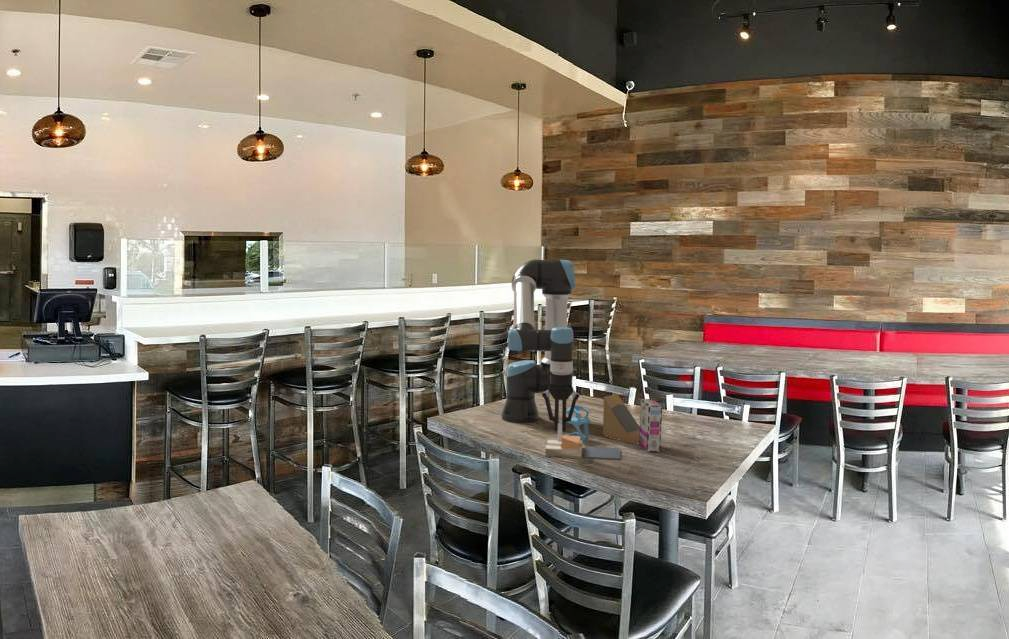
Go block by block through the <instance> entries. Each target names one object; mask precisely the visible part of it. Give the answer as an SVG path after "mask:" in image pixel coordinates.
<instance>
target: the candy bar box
mask: <svg viewBox="0 0 1009 639" xmlns="http://www.w3.org/2000/svg"><path fill="white" fill-rule="evenodd" d="M639 407H640V411H639V426H640V430H639V444H638V445H640V446H641V447H642V448H643V449H644V451H645V452H647V453H660V452H661V442H662V441H661V439H662V422H663V421H662V420H663V405H661V404H660V403H659V402H657V401H656V400H654V399H653V398H648V399H647V398H643V399H642V398H641V399H640V406H639Z"/></svg>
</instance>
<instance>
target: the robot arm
mask: <svg viewBox="0 0 1009 639" xmlns="http://www.w3.org/2000/svg"><path fill="white" fill-rule="evenodd" d="M511 289H512V291H513V328H511V329H508V332H507V348H508V349H509V350H510V351H516V352H517V351H518V352H528V351H529V352H535V351H536V352H537V351H538V352H544V356H543V357H542V358H541V359H540V364H537V363H536V361H535V360H529V359H525V360H518V361H514V362H511V363H509V364H507V367H506V375H505V376H506V392H505V393H506V398H505V402H504V406H503V408H502V412H501V419H502V420H504V421H507V422H510V423H531V422H535V421H538V420H539V419H540V412H539V410H538V409H539V408H538V405H537V402H536V394H541V395H542V396H541V397H542V398H543V399H544V402H545V405H546V410H547V416H548V419H549V421H552V422H553V423H554V428H553V429H554V432H556V433H557V439H558V441H557V442H561V441H562V437H563V433H565V432H566V430H567V423H568V421H571V418H573V414H574V412H573V411H574V407H575V406H576V403H577V401H578V400H579V398H580V393H579V392H577V391H574V389H575V388H574V387H573V376H574V374H573V373H574V366H573V365H574V363H573V362H574V360H573V355H574V354H573V352H574V351H573V350H574V330H573V328H571V327H568V326H567V325H568V299H569V297H570V296H572V290H573V291H574V290H575V289H576V276H575V269H574V265H573V262H572V261H571V260H569V259H568V260H567V259H561V258H560V259H535V258H534V259H530V260H528V261H525V262H524V263H523V264H521V265H519V267H518V268H517V269H516V270H515V272H514V273H513V276H512V279H511ZM536 290H541V293H542V294H541V295H542V296H544V298H545V319H544V320H545V324H544V325H545V326H544V328H545V329H535V291H536ZM550 395H551V397H552V399H553V400H554V413H553V409H552V404H551V401H550ZM571 395H572V396H571ZM570 396H571V397H572V402H571V405H570V406H571V408H570V412H569V415H568V414H567V400H568V399H569V398H570ZM560 401H562V408H561V420H559V417H560V414H559V413H560V411H559V410H560Z"/></svg>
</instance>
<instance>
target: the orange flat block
mask: <svg viewBox="0 0 1009 639" xmlns="http://www.w3.org/2000/svg"><path fill="white" fill-rule="evenodd" d="M580 438H581V437H580V436H577V435H573V436H567V434H564V435H563V434H562V441H561V448H564V449H579V445H580Z"/></svg>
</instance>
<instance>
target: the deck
mask: <svg viewBox="0 0 1009 639" xmlns="http://www.w3.org/2000/svg"><path fill="white" fill-rule="evenodd" d="M557 441H558V438H548V439H547V442H546V445H545V449H544V450H545V452H544V453H545V454H544V455H545V457H554V456H561V457H560V458H573V457H574V458H576V459H577V458H578V459H581V458H582V455H583V454H582V452H583V441H581V440H580V445H579V449H564V448H561V442H557Z"/></svg>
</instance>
